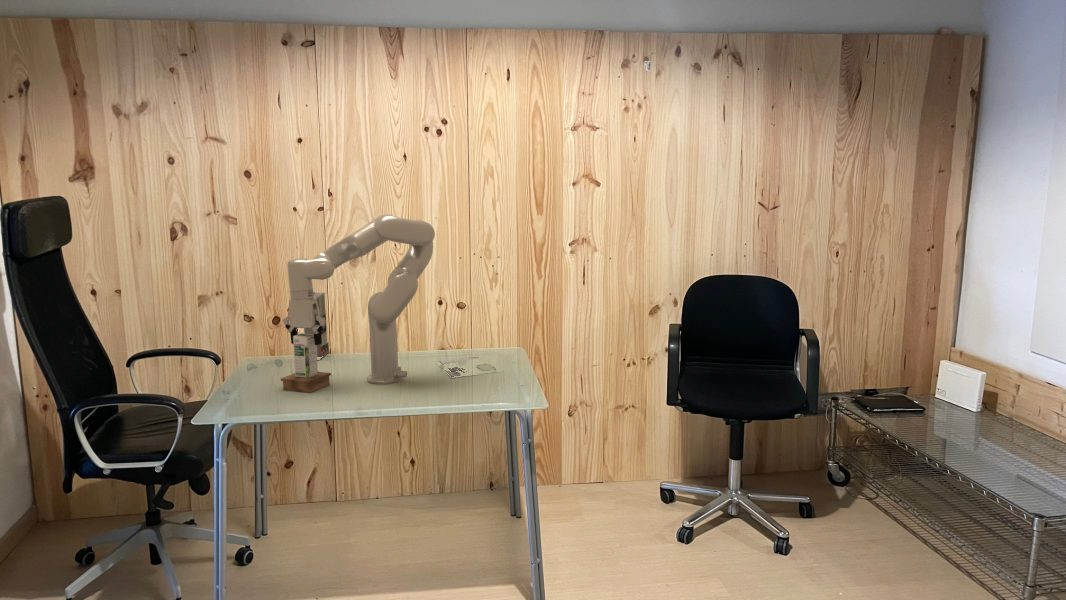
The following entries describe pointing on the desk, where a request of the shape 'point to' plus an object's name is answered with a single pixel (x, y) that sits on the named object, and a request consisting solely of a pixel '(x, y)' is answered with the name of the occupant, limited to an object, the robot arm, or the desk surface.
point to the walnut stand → (306, 382)
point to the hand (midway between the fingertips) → (306, 343)
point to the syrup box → (305, 355)
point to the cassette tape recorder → (324, 347)
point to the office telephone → (453, 370)
